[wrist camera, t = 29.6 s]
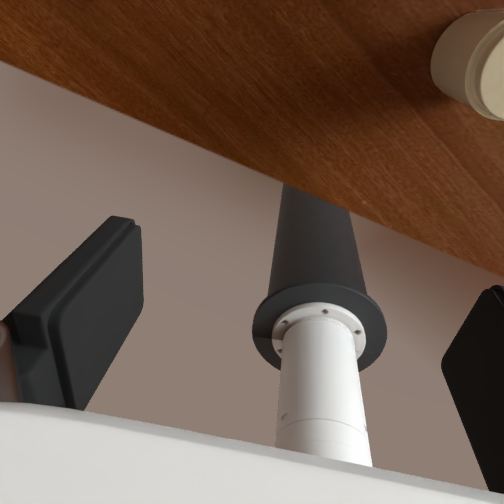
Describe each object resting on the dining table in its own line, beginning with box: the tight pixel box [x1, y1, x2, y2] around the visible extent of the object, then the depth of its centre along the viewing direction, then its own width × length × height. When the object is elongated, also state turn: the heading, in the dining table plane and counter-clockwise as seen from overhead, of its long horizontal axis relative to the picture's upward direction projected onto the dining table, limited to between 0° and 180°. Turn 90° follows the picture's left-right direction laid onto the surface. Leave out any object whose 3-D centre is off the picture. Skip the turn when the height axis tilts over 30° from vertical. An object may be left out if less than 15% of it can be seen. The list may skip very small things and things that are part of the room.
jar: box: [430, 8, 504, 121], centre depth 26 cm, size 6×6×10 cm
